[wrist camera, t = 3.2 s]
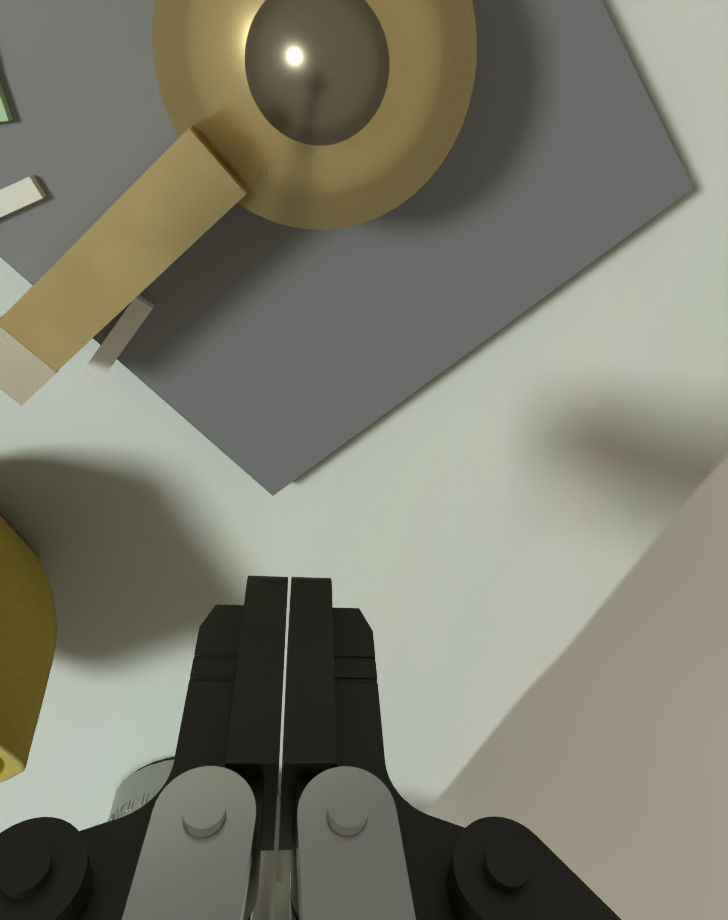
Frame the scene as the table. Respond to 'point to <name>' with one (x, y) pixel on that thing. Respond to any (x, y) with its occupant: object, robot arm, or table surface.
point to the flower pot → (22, 648)
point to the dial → (259, 145)
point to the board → (335, 250)
